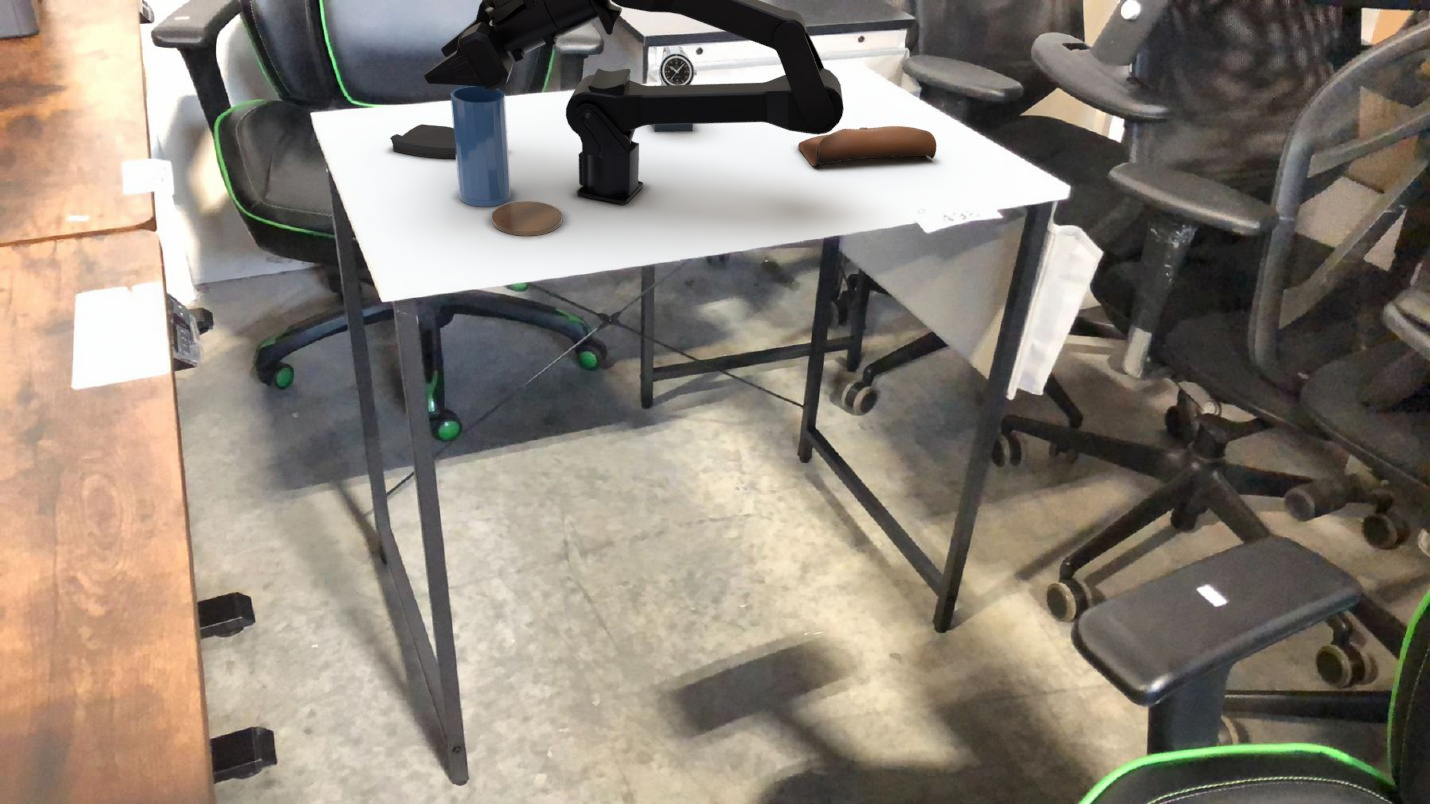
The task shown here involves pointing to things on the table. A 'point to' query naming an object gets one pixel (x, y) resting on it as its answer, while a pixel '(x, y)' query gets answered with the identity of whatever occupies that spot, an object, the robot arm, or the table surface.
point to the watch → (675, 78)
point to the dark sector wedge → (426, 142)
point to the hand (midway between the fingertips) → (434, 65)
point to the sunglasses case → (868, 144)
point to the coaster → (526, 218)
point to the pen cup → (481, 145)
